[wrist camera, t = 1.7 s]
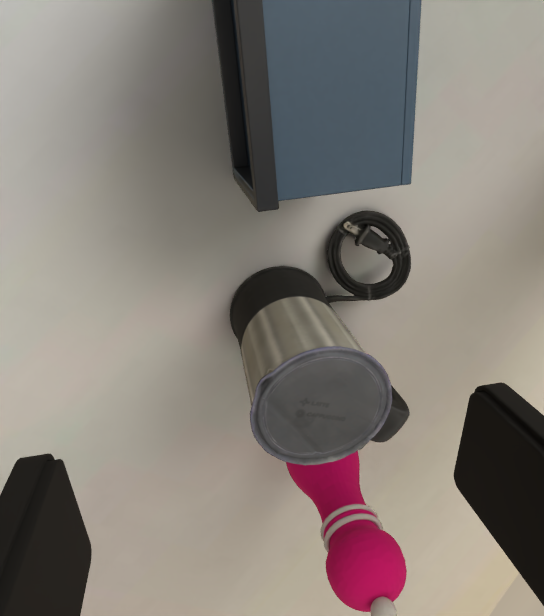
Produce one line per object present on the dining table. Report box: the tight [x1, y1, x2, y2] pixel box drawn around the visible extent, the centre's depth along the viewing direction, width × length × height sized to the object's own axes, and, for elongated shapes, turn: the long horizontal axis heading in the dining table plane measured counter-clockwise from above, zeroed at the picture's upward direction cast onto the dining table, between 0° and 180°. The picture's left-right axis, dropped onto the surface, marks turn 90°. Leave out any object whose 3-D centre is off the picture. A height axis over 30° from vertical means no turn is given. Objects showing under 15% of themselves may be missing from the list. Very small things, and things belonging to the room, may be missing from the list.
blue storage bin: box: [212, 0, 421, 212], centre depth 25 cm, size 9×16×12 cm, turn 5°
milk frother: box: [230, 211, 411, 466], centre depth 32 cm, size 14×16×15 cm
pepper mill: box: [286, 451, 406, 616], centre depth 37 cm, size 7×7×20 cm
